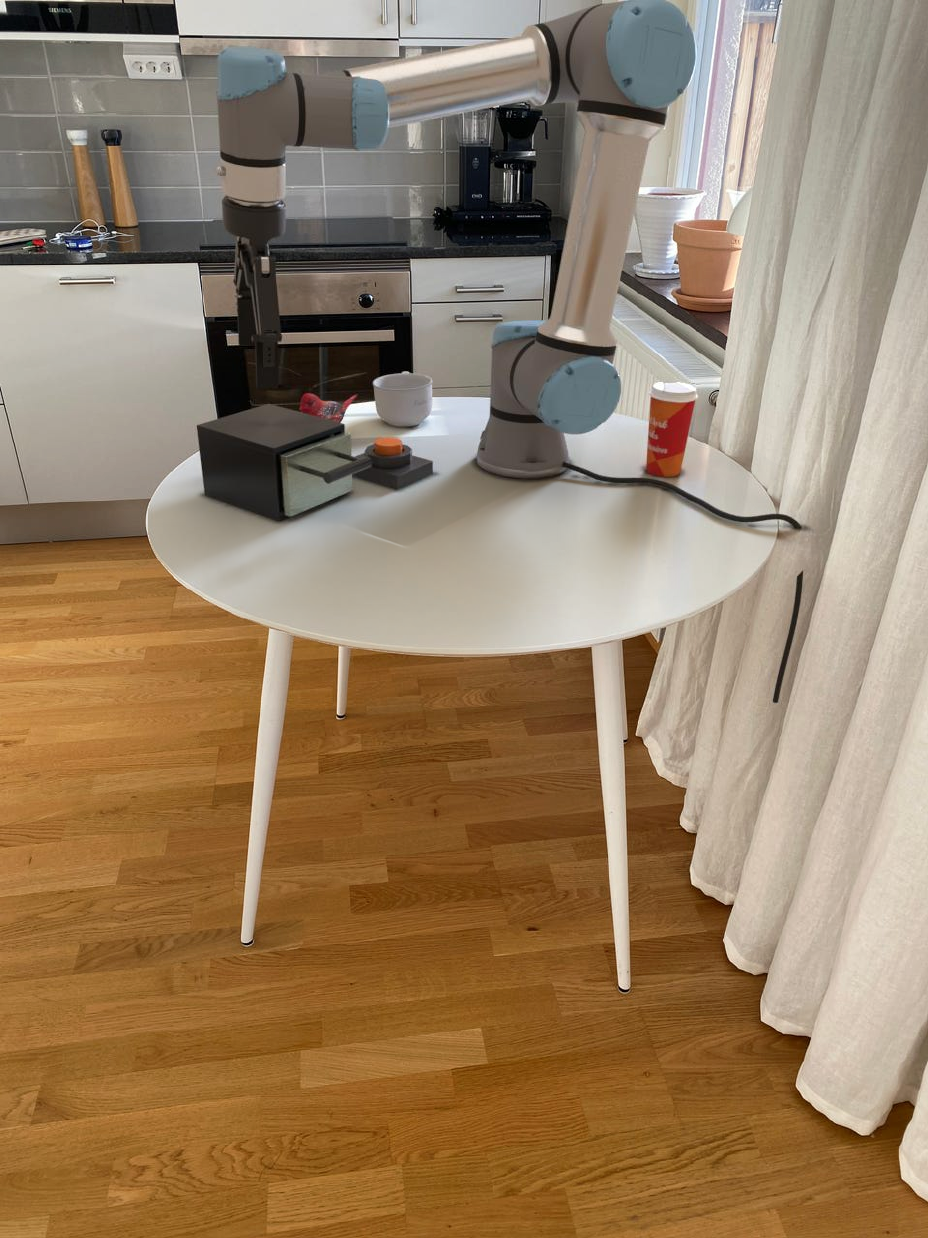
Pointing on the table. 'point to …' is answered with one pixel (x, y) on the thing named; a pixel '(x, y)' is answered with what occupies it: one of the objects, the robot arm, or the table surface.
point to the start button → (388, 446)
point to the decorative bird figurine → (324, 407)
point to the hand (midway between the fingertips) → (257, 365)
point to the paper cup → (669, 426)
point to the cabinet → (255, 454)
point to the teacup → (403, 398)
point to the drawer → (318, 472)
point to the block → (395, 468)
